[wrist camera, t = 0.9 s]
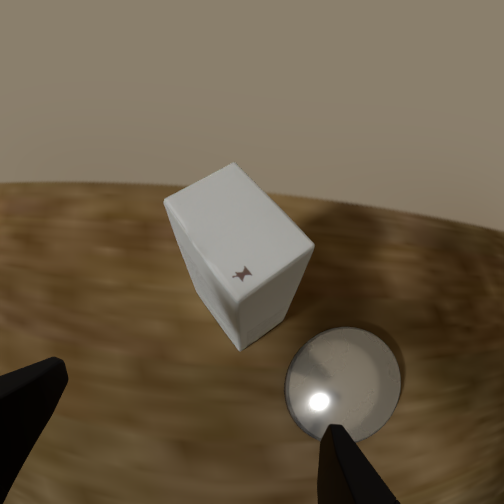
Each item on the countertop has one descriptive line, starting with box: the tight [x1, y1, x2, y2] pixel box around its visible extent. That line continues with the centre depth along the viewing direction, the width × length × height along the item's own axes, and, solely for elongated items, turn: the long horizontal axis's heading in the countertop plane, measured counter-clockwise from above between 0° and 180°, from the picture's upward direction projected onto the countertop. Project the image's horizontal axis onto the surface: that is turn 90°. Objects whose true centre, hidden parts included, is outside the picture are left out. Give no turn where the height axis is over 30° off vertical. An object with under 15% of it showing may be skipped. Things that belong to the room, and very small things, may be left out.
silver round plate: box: [284, 327, 401, 443], centre depth 20 cm, size 9×9×1 cm
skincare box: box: [164, 162, 315, 351], centre depth 18 cm, size 6×4×12 cm
